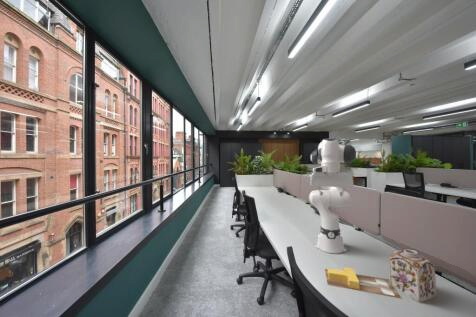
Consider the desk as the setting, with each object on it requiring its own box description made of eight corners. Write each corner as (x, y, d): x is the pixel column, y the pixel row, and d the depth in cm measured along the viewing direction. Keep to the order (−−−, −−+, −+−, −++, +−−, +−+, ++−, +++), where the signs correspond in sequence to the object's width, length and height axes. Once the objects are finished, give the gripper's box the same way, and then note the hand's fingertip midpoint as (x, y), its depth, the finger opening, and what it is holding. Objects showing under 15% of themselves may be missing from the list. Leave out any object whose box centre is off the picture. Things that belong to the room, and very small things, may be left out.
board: (324, 270, 102) (324, 269, 102) (388, 281, 92) (388, 279, 92) (327, 286, 89) (327, 284, 89) (402, 301, 79) (402, 298, 79)
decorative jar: (437, 297, 82) (435, 254, 82) (420, 304, 78) (418, 259, 78) (404, 281, 93) (403, 243, 93) (388, 287, 89) (387, 247, 90)
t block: (327, 270, 100) (326, 264, 101) (353, 274, 96) (353, 268, 97) (329, 283, 89) (329, 277, 89) (359, 289, 85) (359, 282, 85)
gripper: (351, 168, 100) (352, 195, 99) (309, 168, 106) (310, 193, 106) (354, 169, 94) (355, 197, 93) (310, 168, 101) (310, 195, 100)
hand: (331, 195), depth 100 cm, fingers open, 8 cm apart
